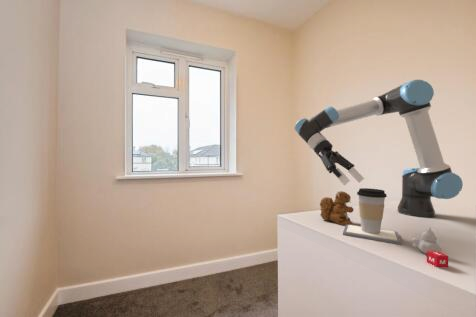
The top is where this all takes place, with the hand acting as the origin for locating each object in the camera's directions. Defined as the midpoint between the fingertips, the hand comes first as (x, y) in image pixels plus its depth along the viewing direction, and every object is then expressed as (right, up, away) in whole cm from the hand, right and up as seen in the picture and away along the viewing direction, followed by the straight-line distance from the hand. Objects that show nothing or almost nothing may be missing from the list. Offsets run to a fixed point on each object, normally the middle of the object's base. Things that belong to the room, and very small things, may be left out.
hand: (354, 181), depth 91 cm
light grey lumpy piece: (+8, -19, -24) cm, 32 cm away
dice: (+5, -19, -32) cm, 37 cm away
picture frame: (+1, -18, -9) cm, 20 cm away
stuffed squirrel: (-4, -18, +8) cm, 20 cm away
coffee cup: (+1, -17, -9) cm, 19 cm away
